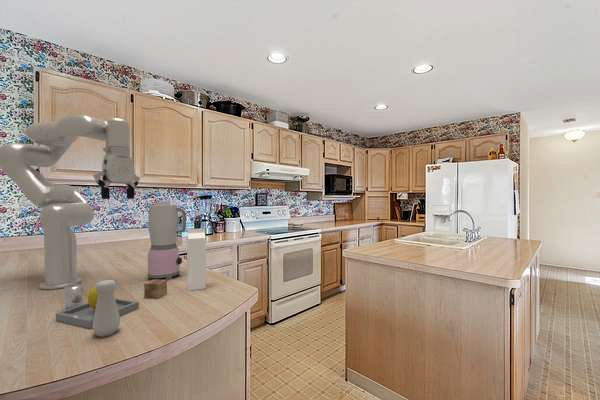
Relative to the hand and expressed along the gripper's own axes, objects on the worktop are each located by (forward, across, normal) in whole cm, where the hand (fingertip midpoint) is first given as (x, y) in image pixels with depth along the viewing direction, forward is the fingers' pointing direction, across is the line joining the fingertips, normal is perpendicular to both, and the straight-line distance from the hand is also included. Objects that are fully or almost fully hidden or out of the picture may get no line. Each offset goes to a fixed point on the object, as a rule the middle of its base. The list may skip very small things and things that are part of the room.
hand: (118, 198), depth 104 cm
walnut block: (+33, -2, -20) cm, 39 cm away
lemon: (+33, -19, -17) cm, 41 cm away
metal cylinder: (+33, -19, -6) cm, 39 cm away
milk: (+34, +10, -27) cm, 44 cm away
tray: (+33, -19, -17) cm, 42 cm away
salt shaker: (+34, -26, -30) cm, 52 cm away
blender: (+34, +17, -6) cm, 38 cm away
